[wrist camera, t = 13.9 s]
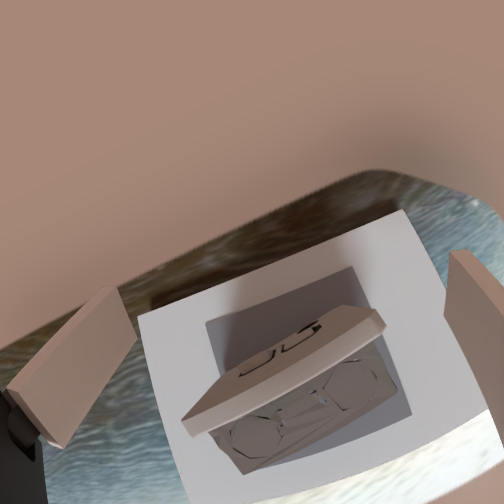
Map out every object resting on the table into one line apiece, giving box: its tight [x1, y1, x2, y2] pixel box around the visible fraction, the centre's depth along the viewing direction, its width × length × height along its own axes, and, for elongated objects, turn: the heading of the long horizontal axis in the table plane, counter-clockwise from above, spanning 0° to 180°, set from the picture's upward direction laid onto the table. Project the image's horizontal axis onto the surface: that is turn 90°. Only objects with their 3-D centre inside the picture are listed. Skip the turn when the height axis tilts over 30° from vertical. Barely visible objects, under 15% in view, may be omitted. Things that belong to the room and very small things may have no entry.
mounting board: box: [138, 209, 488, 504], centre depth 21 cm, size 22×16×2 cm
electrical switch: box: [181, 305, 398, 475], centre depth 15 cm, size 9×5×9 cm, turn 119°
